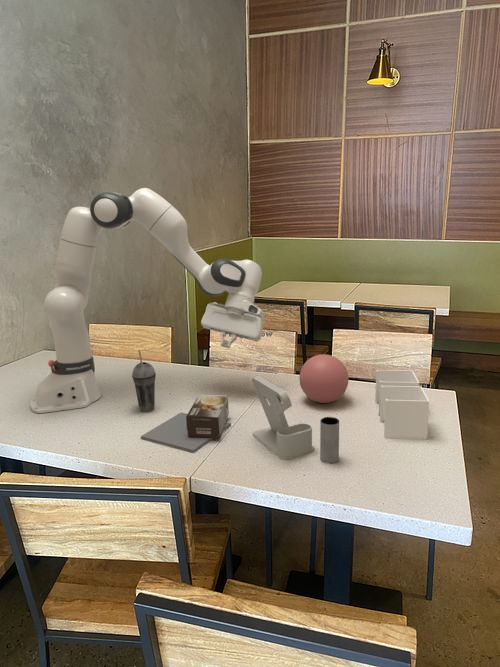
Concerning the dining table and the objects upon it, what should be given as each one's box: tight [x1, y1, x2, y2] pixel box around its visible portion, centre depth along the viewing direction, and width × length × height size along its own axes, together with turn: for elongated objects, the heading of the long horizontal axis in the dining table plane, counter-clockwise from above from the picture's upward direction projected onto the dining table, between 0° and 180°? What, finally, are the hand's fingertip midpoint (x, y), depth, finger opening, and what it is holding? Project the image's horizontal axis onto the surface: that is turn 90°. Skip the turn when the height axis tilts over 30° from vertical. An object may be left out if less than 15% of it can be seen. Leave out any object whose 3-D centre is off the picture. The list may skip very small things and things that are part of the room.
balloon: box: [298, 353, 349, 404], centre depth 158 cm, size 15×20×15 cm
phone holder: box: [251, 374, 315, 461], centre depth 129 cm, size 17×10×18 cm, turn 28°
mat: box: [140, 412, 232, 454], centre depth 139 cm, size 18×18×1 cm
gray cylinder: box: [319, 416, 340, 464], centre depth 120 cm, size 4×4×10 cm
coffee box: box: [186, 394, 230, 439], centre depth 140 cm, size 9×6×16 cm
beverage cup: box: [131, 349, 157, 413], centre depth 153 cm, size 7×7×20 cm
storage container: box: [374, 369, 430, 440], centre depth 142 cm, size 25×11×11 cm, turn 172°
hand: (224, 346), depth 157 cm, fingers closed
